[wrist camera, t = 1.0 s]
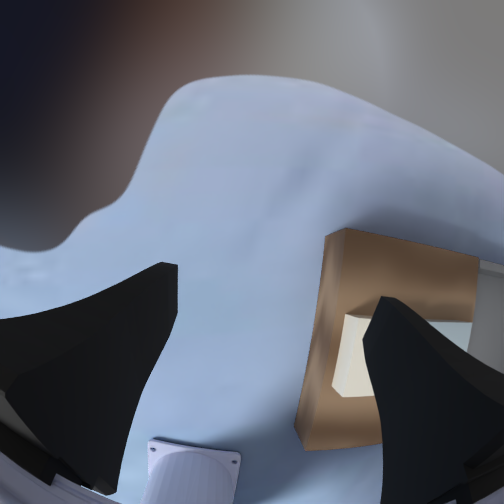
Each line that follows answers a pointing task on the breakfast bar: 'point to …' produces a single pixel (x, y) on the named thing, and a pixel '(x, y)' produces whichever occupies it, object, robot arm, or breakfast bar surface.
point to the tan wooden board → (364, 303)
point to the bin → (489, 316)
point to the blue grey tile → (454, 331)
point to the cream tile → (352, 359)
